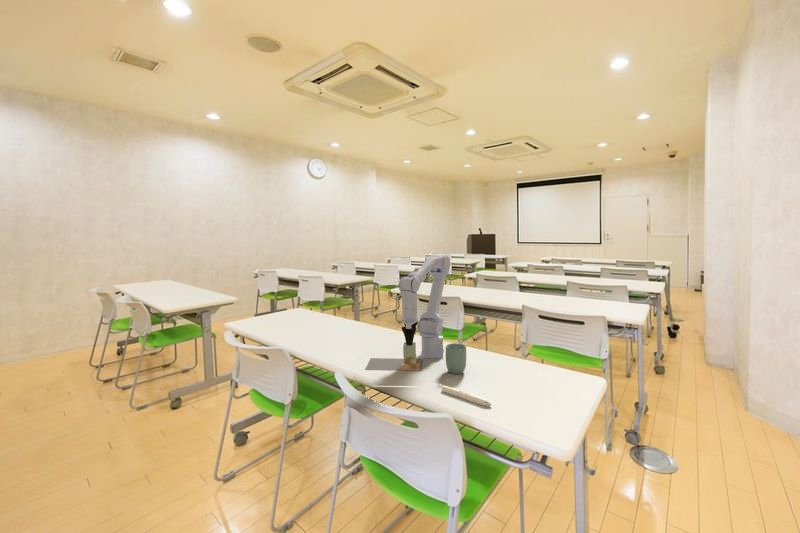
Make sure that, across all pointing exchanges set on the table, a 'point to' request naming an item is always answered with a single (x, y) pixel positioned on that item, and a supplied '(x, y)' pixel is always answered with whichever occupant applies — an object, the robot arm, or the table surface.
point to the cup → (456, 358)
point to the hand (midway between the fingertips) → (410, 342)
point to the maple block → (410, 362)
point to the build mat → (391, 364)
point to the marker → (466, 396)
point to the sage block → (409, 350)
